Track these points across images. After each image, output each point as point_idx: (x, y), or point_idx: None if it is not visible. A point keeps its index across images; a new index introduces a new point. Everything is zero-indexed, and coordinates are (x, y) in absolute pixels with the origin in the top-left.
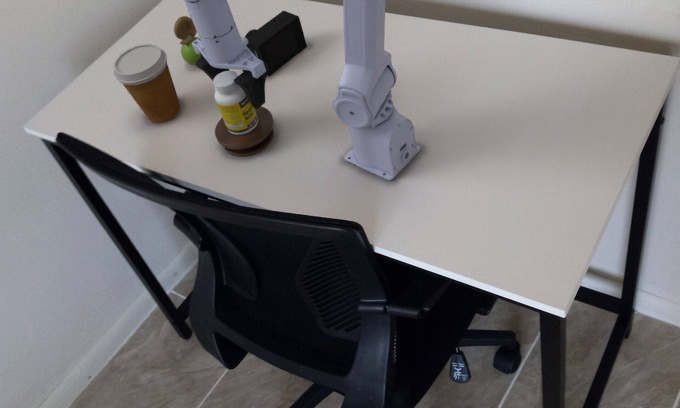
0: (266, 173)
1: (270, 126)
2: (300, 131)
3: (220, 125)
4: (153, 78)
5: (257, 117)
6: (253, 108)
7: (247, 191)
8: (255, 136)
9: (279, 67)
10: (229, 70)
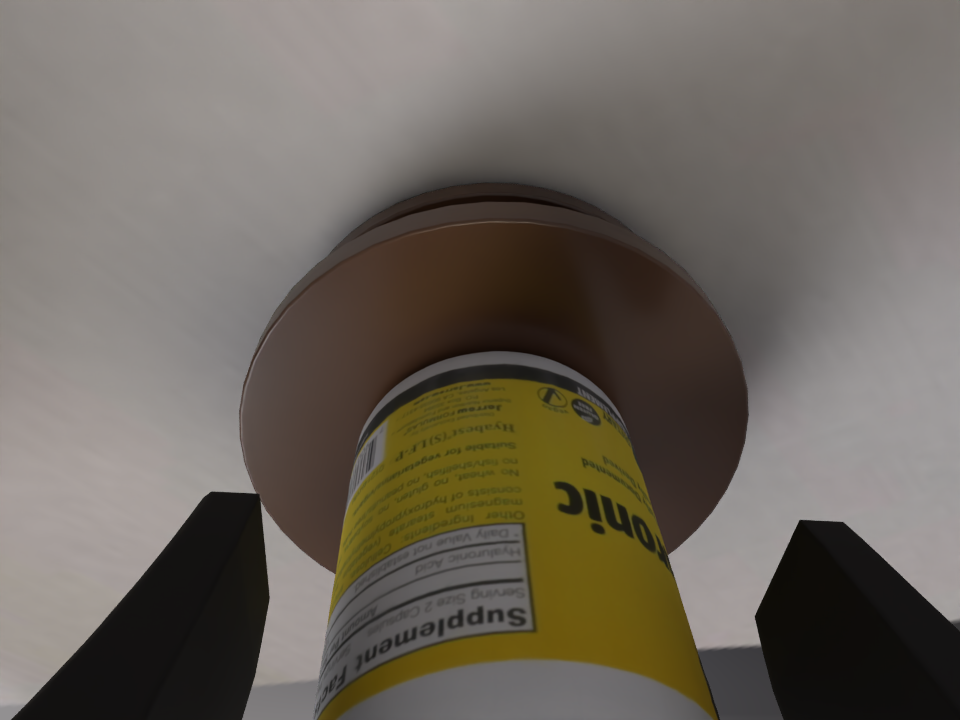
0: (788, 520)
1: (746, 388)
2: (871, 155)
3: (312, 518)
4: None
5: (605, 402)
6: (651, 515)
7: (743, 622)
8: (676, 501)
9: None
10: (154, 711)
